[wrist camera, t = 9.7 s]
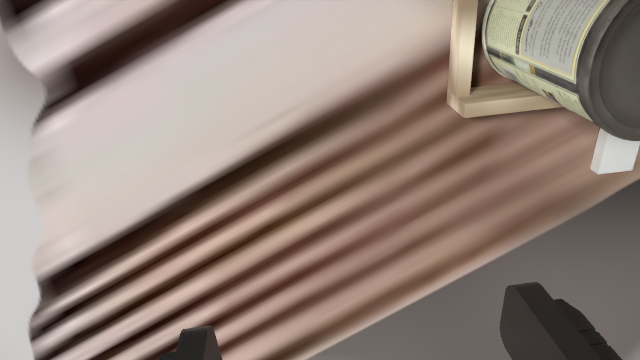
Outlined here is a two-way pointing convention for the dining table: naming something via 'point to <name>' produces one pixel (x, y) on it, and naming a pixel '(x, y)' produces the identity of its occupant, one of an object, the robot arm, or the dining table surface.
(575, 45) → the coffee can
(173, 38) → the dining table surface
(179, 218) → the dining table surface
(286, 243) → the dining table surface
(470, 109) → the frame
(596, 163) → the empty strip
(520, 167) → the dining table surface
